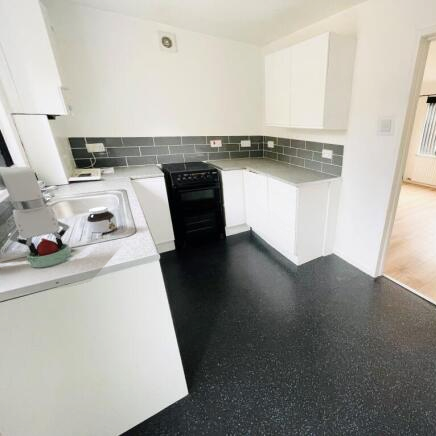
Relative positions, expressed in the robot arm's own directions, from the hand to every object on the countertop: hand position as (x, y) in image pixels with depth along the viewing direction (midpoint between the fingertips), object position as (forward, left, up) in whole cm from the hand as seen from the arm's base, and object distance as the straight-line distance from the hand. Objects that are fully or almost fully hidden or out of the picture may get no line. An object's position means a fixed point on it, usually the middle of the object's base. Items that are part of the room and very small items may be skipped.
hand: (48, 250), depth 90 cm
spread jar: (+6, +28, -4) cm, 29 cm away
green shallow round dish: (0, 0, -4) cm, 4 cm away
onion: (0, 0, -3) cm, 3 cm away
